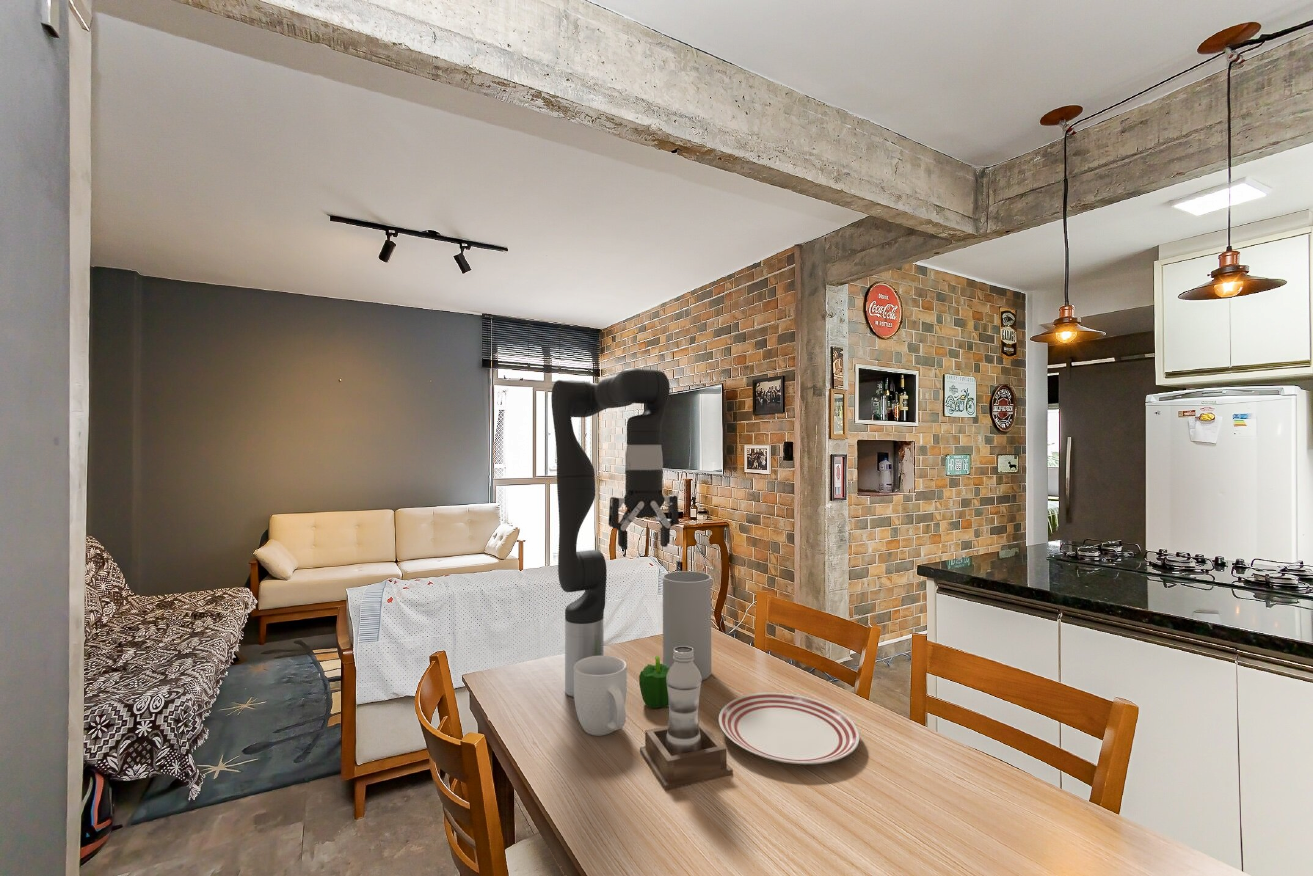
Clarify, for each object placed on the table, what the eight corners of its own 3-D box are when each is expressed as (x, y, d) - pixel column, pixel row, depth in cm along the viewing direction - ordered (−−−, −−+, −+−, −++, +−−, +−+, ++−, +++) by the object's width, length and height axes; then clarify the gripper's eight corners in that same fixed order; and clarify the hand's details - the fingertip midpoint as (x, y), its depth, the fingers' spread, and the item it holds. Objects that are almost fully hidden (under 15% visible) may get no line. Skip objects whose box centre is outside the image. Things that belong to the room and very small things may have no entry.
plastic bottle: (664, 748, 107) (664, 643, 108) (700, 748, 107) (699, 643, 108) (665, 768, 101) (665, 655, 101) (703, 767, 101) (703, 655, 101)
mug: (646, 740, 112) (646, 674, 112) (597, 756, 106) (597, 687, 106) (610, 710, 124) (610, 651, 125) (564, 724, 118) (564, 662, 119)
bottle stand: (639, 751, 108) (639, 729, 108) (701, 738, 112) (701, 717, 112) (665, 790, 96) (665, 764, 96) (732, 774, 100) (732, 749, 100)
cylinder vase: (713, 684, 138) (713, 582, 139) (662, 684, 138) (662, 582, 139) (709, 664, 151) (709, 571, 151) (662, 664, 151) (662, 571, 151)
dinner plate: (882, 736, 114) (881, 719, 114) (818, 798, 94) (818, 778, 94) (765, 695, 132) (765, 681, 133) (691, 740, 112) (691, 723, 112)
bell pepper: (669, 714, 122) (669, 668, 123) (634, 709, 125) (634, 664, 125) (680, 698, 130) (680, 655, 131) (647, 693, 133) (647, 651, 133)
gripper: (669, 466, 120) (669, 542, 119) (605, 467, 115) (605, 547, 114) (683, 467, 113) (683, 548, 112) (615, 468, 108) (615, 553, 107)
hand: (644, 547), depth 113 cm, fingers open, 8 cm apart
